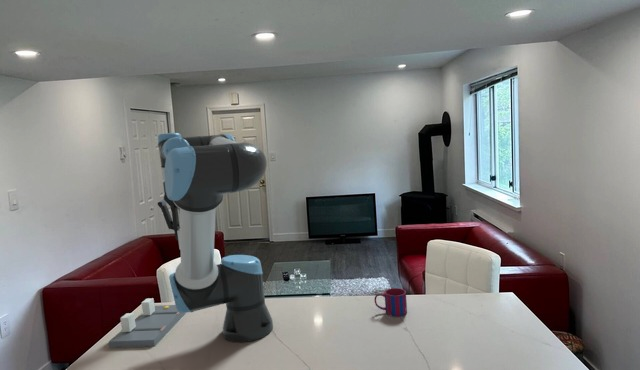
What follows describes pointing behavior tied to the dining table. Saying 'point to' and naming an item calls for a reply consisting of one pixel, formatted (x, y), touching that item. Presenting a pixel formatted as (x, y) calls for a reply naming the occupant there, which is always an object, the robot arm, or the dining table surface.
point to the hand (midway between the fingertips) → (183, 248)
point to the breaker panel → (148, 328)
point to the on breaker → (128, 322)
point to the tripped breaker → (148, 306)
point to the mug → (394, 302)
